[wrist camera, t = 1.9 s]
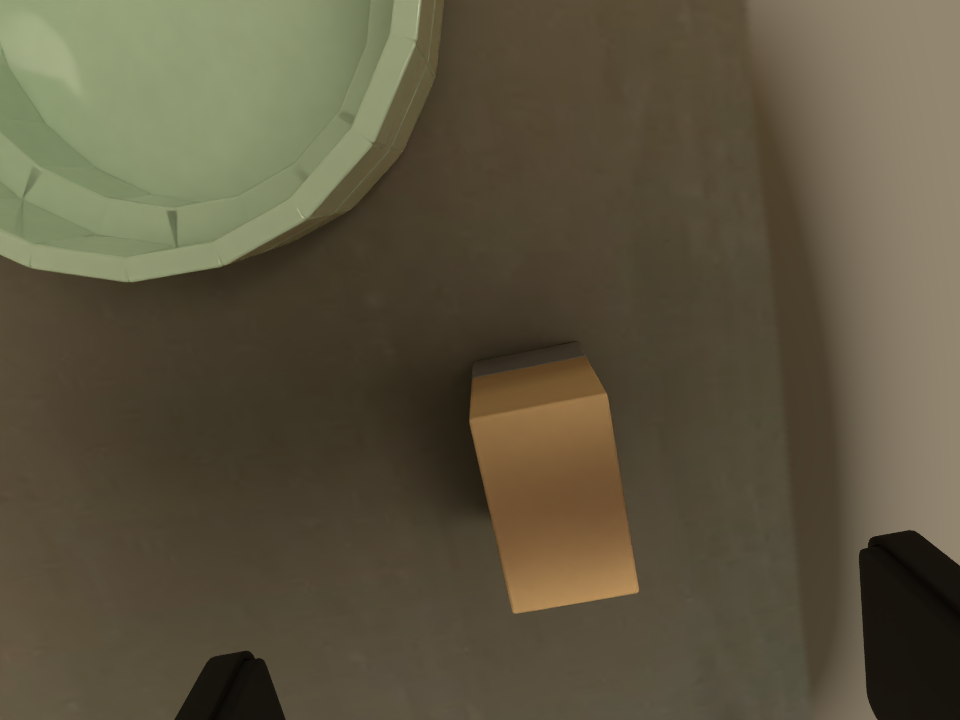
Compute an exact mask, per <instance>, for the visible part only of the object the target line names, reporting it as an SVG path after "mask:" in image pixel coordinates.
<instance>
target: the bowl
mask: <svg viewBox="0 0 960 720" xmlns="http://www.w3.org/2000/svg"><path fill="white" fill-rule="evenodd" d="M444 2H445V0H0V255H2V256H4V257H6V258H8V259H11V260H13V261H15V262H17V263H19V264H22V265H24V266H26V267H30V268H33V269H36V270H43V271H50V272H57V273H64V274H71V275H78V276H85V277H92V278H99V279H106V280H113V281H119V282H126V283H127V282H138V281H144V280H150V279H156V278H161V277H167V276H173V275H179V274H184V273H190V272H196V271H202V270H207V269H213V268H219V267H223V266H226V265H229V264H232V263H234V262H237V261H240V260H243V259H246V258H249V257H252V256H255V255H258V254H261V253H264V252H266V251H269V250H272V249H275V248H278V247H281V246H284V245H287V244H289V243H292V242H294V241H296V240H297V239H299V238H301V237H303V236H305V235H306V234H308V233H310V232H312V231H314V230H315V229H317V228H319V227H321V226H323V225H324V224H326V223H328V222H330V221H332V220H333V219H335V218H337V217H339V216H341V215H342V214H344V213H346V212H348V211H349V210H350V209H351V208H353V207H355V205H356V204H357V203H358V202H359V201H360V200H361V199H362V198H363V197H364V195H365V194H366V193H367V192H368V191H369V190H370V189H371V188H372V187H373V185H374V184H375V183H376V182H377V181H378V180H379V179H380V178H381V176H382V175H383V174H384V173H385V172H386V171H387V170H388V169H389V168H390V166H391V165H392V164H393V163H394V162H395V161H396V160H397V159H398V158H399V156H400V155H401V153H402V152H401V151H403V150H404V149H405V146H406V144H407V142H408V140H409V137H410V135H411V133H412V131H413V128H414V126H415V124H416V121H417V119H418V117H419V115H420V112H421V110H422V108H423V105H424V103H425V101H426V99H427V96H428V94H429V92H430V90H431V87H432V85H433V83H434V77H435V75H436V70H437V62H438V53H439V45H440V36H441V28H442V19H443V11H444Z"/></svg>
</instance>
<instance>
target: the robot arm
mask: <svg viewBox="0 0 960 720" xmlns="http://www.w3.org/2000/svg"><path fill="white" fill-rule="evenodd" d="M859 566H860V567H859V568H860V583H861V584H860V585H861V602H862V618H863V637H864V654H865V671H866V688H867V696H868V700H869V703H870V706H871V708H872V710H873V712H874V714H875V716H876V718H877V719H878V720H960V566H959V565H958V564H957V563H956V562H954V561H953V560H951V559H950V558H949V557H948V556H947V555H945V554H944V553H943V552H942V551H940V550H939V549H938V548H937V547H935V546H934V545H933V544H931V543H930V542H929V541H928V540H926V539H925V538H924V537H923V536H921V535H920V534H919V533H917V532H915V531H911V530H908V531H902V532H897V533H891V534H886V535H880V536H875V537H872V538H871V539H870V540H869V543H868V548H865V549H862V550H861V551H860V554H859ZM175 720H285V717H284V714H283V711H282V708H281V705H280V703H279V700H278V697H277V694H276V691H275V688H274V686H273V683H272V680H271V677H270V674H269V671H268V668H267V666H266V664H265V661H264V660H263V659H260V658H258V659H255V658H254V656H253V654H252V653H251V652H249V651H242V652H237V653H231V654H226V655H220V656H215V657H212V658H210V659H209V661H208V662H207V663H206V665H205V666H204V668H203V670H202V672H201V674H200V675H199V677H198V679H197V681H196V682H195V684H194V686H193V688H192V690H191V691H190V693H189V695H188V697H187V698H186V700H185V702H184V704H183V706H182V707H181V709H180V711H179V713H178V714H177V716H176V718H175Z"/></svg>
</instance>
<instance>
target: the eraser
mask: <svg viewBox="0 0 960 720" xmlns="http://www.w3.org/2000/svg"><path fill="white" fill-rule="evenodd" d="M469 423H470V428H471V432H472V436H473V441H474V445H475V450H476V454H477V459H478V463H479V467H480V472H481V476H482V481H483V485H484V490H485V494H486V498H487V503H488V507H489V512H490V516H491V521H492V525H493V529H494V534H495V538H496V543H497V547H498V552H499V556H500V560H501V565H502V569H503V574H504V578H505V583H506V587H507V591H508V596H509V600H510V605H511V609H512V612H513V613H514V614H517V613H523V612H529V611H535V610H541V609H546V608H552V607H558V606H564V605H570V604H576V603H582V602H587V601H593V600H599V599H605V598H611V597H617V596H623V595H628V594H634V593H638V591H639V586H638V580H637V574H636V568H635V561H634V555H633V549H632V543H631V537H630V530H629V524H628V518H627V512H626V506H625V500H624V493H623V487H622V481H621V475H620V469H619V462H618V456H617V450H616V444H615V438H614V432H613V425H612V419H611V413H610V407H609V401H608V395H607V393H606V391H605V390H604V388H603V386H602V384H601V382H600V381H599V379H598V377H597V375H596V374H595V372H594V370H593V368H592V366H591V365H590V363H589V361H588V359H587V357H586V355H585V353H584V352H583V350H582V348H581V346H580V344H579V343H578V342H572V343H567V344H562V345H557V346H552V347H547V348H542V349H537V350H531V351H526V352H521V353H516V354H511V355H506V356H501V357H496V358H491V359H486V360H481V361H476V362H473V369H472V387H471V402H470V417H469Z"/></svg>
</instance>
